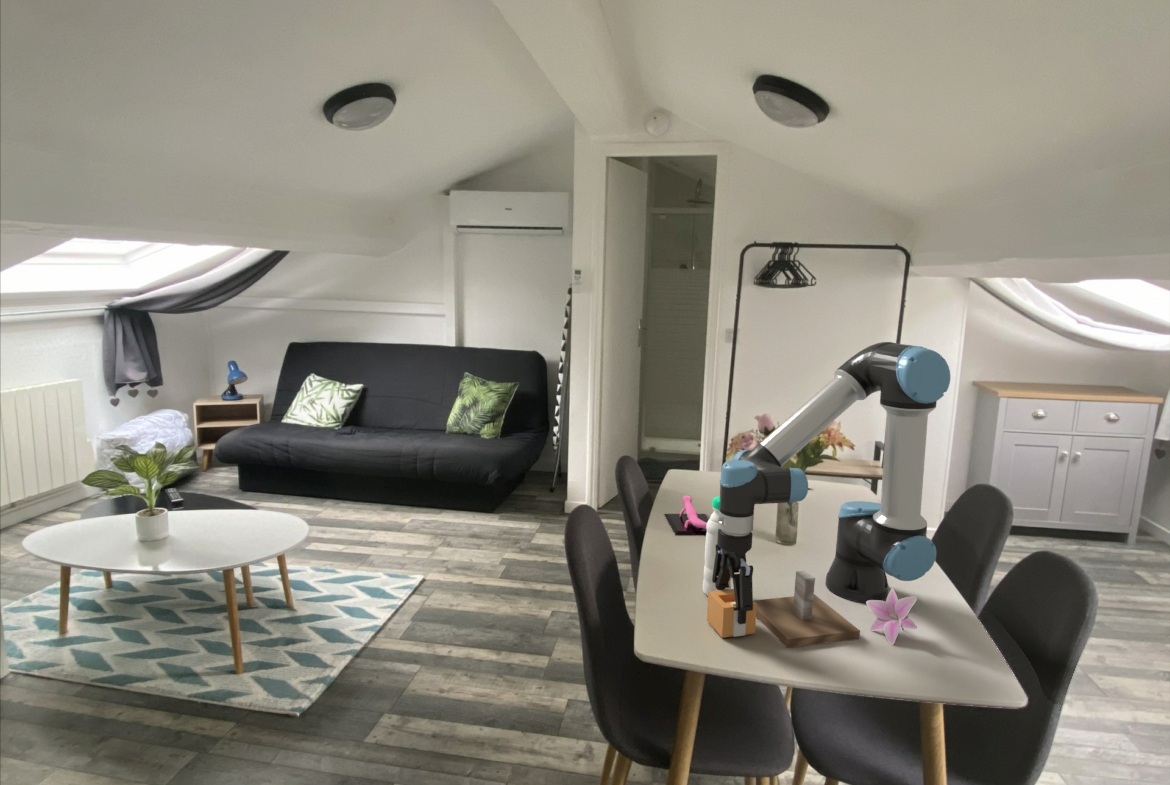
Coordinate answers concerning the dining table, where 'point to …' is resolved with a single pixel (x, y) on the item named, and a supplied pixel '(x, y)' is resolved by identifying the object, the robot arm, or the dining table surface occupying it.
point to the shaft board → (804, 628)
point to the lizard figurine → (688, 520)
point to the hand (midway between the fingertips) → (729, 625)
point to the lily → (892, 615)
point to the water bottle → (711, 548)
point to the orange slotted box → (727, 613)
